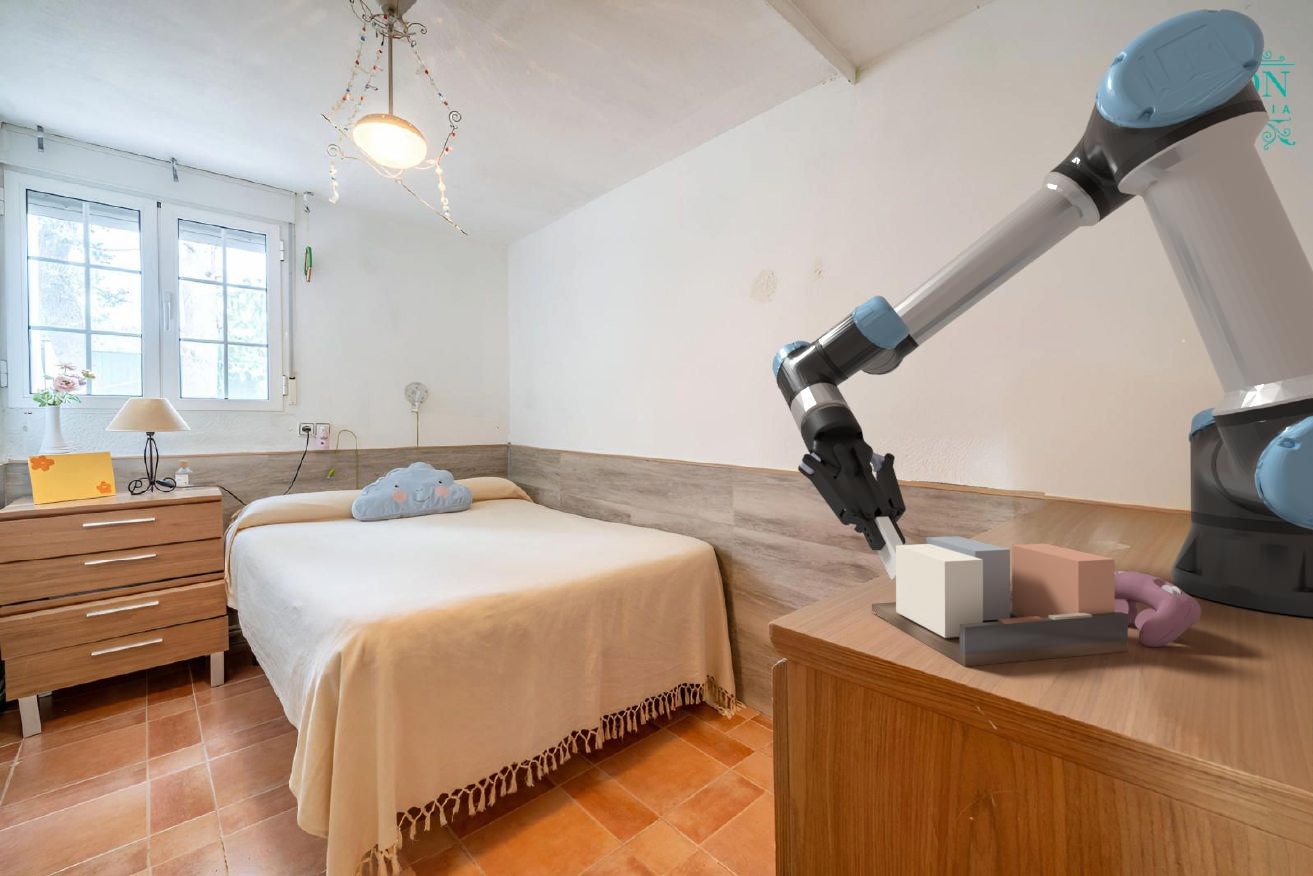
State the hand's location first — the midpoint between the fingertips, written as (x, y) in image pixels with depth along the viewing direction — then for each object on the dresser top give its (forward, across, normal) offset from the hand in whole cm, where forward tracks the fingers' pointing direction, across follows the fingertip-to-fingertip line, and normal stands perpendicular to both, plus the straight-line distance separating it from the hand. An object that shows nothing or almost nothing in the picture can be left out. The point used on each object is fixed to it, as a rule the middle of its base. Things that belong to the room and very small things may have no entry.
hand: (902, 573), depth 55 cm
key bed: (+6, -6, -1) cm, 9 cm away
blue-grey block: (+4, -6, -1) cm, 7 cm away
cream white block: (+6, 0, +1) cm, 6 cm away
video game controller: (+9, -21, +1) cm, 22 cm away
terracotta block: (+7, -12, +2) cm, 15 cm away
